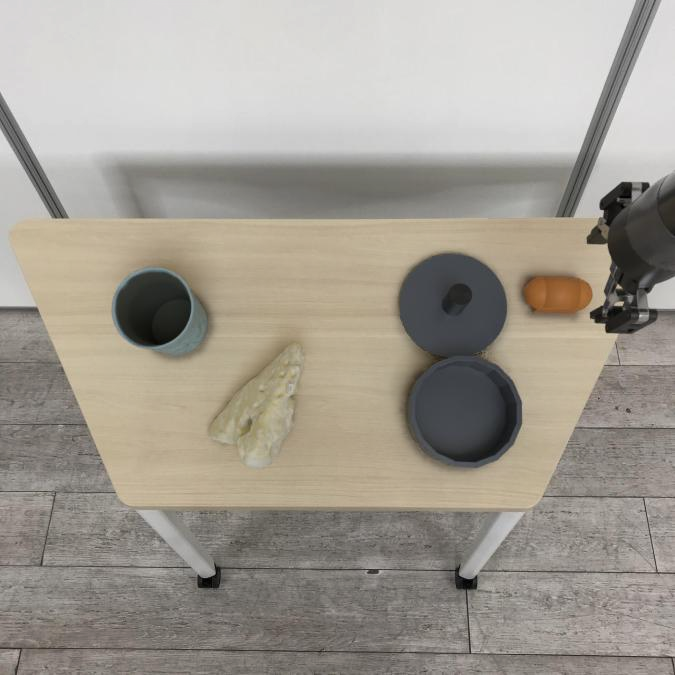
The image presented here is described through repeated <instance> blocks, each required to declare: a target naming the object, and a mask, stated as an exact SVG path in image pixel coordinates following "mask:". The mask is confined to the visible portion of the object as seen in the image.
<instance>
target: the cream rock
mask: <svg viewBox="0 0 675 675" xmlns="http://www.w3.org/2000/svg"><path fill="white" fill-rule="evenodd" d="M304 352H305V349H304V348H303V345H302V344H301V342H299V341H294V342H293V343H291V344H289V345H288V346H286V347H285V348H284V350H283V351H282V352H281V353H280V354H278V356H276V358H275V359H274V360H272V362H270V363H269V364H268V365H267V366H266V367H265V368H263V370H261V372H260V373H259V375H257V376H255V377H253V378H252V379H250V380H249V381H248V382H247V383H246V384H244V386H242V387H241V388H240V389H239V390H238V391H237V392H235V394H234V395H233V396H232V397H231V399H230V400H229V403H228V404H227V406H226V407H225V408H223V410H222V411H221V412H220V413H219V414H218V415H217V417H216V418H215V419H214V421H213V422H212V423H211V425H210V427H209V431H208V434H207V436H208V437H209V438H210V439H212V440H213V441H216V442H219V443H223V444H226V445H229V446H230V445H235V448H236V453H237V457H238V459H239V460H240V462H241V463H242V465H244V466H246V467H248V468H251V469H259V468H261V469H263V468H265V467H267V466H270V465H271V464H272V463H273V462H274V461H275V460H276V459H277V458H278V457H279V455H280V453H281V448H282V442H283V441H284V440H285V438H286V437H287V436H288V435H289V434H290V432H291V431H292V428H293V427H294V426H295V425H296V421H295V420H294V418H293V417H294V412H295V410H296V405H297V404H296V400H295V399H294V398H293V397H292V396H293V395H295V394H296V393H297V391H298V389H299V387H300V382H301V381H300V380H301V377H302V375H303V373H304V370H305V363H306V355H305V353H304Z"/></svg>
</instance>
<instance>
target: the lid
mask: <svg viewBox="0 0 675 675" xmlns="http://www.w3.org/2000/svg"><path fill="white" fill-rule="evenodd" d="M398 308H399V309H398V310H399V316H400V320H401V324H402V326H403V328H404V330H405V332H406V333H407V335H408V336H409V338H410V339H411V340H412V341H413V343H415V344H416V345H417V346H418V347H420V348H421V349H422V350H423V351H426V352H427V353H429V354H431V355H433V356H436V357H438V358H439V357H440V358H443V359H446V358H449V357H452V356H455V355H464V356H476V355H477V354H480V353H481V352H483V351H484V350H486V349H488V347H490V346H491V345H492V344H493V343H494V342H495V340H496V339H498V337H499V335H500V334H501V333H502V330H503V328H504V326H505V324H506V323H505V322H506V319H507V314H508V302H507V296H506V291H505V289H504V286H503V284H502V283H501V281H500V279H499V278H498V276H497V275H496V273H495V272H494V271H493V270H492V269H491V268H490V267H489V266H488V265H486V264H485V263H484V262H482V261H481V260H478V259H476V258H474V257H472V256H468V255H466V254H465V255H464V254H460V253H443V254H439V255H435V256H432V257H430V258H427V259H425V260H424V261H422V262H420V263H419V264H418V265H416V266H415V267H414V268H413V269H412V270H411V272H410V273H409V274H408V275H407V277H406V279H405V281H404V282H403V284H402V287H401V290H400V294H399V301H398Z"/></svg>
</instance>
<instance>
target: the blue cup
mask: <svg viewBox="0 0 675 675" xmlns="http://www.w3.org/2000/svg"><path fill="white" fill-rule="evenodd" d="M110 312H111V318H112V321H113V324H114V327H115V329H116V331H117V333H118V334H119V335H120V336H121V337H122V339H124V340H125V341H126V342H127V343H129V344H131V345H132V346H134V347H137V348H139V349H144V350H150V351H155V352H158V353H164V354H167V355H172V356H180V355H185V354H188V353H190V352H191V351H194V350H196V348H198V347H199V346H200V345H201V343H202V342H203V341H204V339H205V338H206V335H207V333H208V329H209V328H208V327H209V320H208V316H207V313H206V310H205V308H204V307H203V306H202V304H201V303H200V301H199V300H198V298H197V297H196V296H195V295H194V293H193V291H192V289H191V288H190V286H189V284H188V283H187V282H186V281H185V280H184V279H183V277H181V276H180V275H179V274H178V273H176V272H175V271H173V270H170V269H168V268H165V267H160V266H148V267H144V268H141V269H137V270H135V271H134V272H132V273H131V274H129V275H128V276H126V277H125V278H124V279H123V280H122V281H121V282H120V284H119V285H118V286H117V288H116V290H115V292H114V295H113V298H112V301H111V310H110Z"/></svg>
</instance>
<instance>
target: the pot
mask: <svg viewBox="0 0 675 675" xmlns="http://www.w3.org/2000/svg"><path fill="white" fill-rule="evenodd" d="M405 411H406V412H405V413H406V414H405V415H406V416H405V417H406V424H407V427H408V429H409V432H410V434H411V438H412V439H413V442H414V443H415V444H416V445H417V446H418V447H419V448H420V449H421V450H422V452H424V453H425V454H426V455H427V456H428V457H429V458H431V459H433V460H436V462H438V463H439V462H440V463H442V464H444V465H446V466H449V467H450V466H451V467H454V468H472V469H476V468H481V467H483V466H485V465H489V464H491V463H494V462H496V461H499V460H500V459H501V458H502V457H503V456H504V455H505V454H506V453H507V452H508V451H509V450H510V449H511V448H512V447H513V446H514V445H515V443H516V440H517V438H518V435H519V433H520V431H521V428H522V425H523V400H522V399H521V396H520V394H519V391H518V389H517V387H516V384H515V382H514V381H513V379H512V377H510V376H509V375H508V373H506V372H505V371H504V369H502V368H501V367H500V366H499V365H498V364H496V363H494V362H492V361H490V360H488V359H485V358H483V357H480V356H478V355H473V356H464V355H455V356H452V357H449V358H443V359H441V360H438V361H436V362H434V363H433V364H432V365H431V366H430V367H429V368H428V369H427V370H425V371H424V373H422V374H421V375H420V376H419V377H418V378H417V379H416V380H415V381H414V384H413V385H412V388H411V390H410V392H409V394H408V396H407V399H406V409H405Z"/></svg>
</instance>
